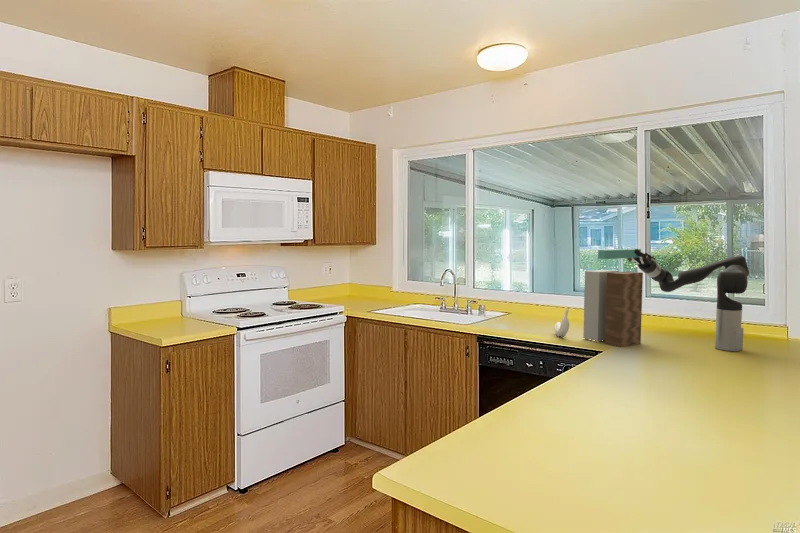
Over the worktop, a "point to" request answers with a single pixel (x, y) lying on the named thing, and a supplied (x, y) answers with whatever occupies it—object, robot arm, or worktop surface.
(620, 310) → the walnut stand
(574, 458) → the worktop surface
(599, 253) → the teal block
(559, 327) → the white tapered lobed shape
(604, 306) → the grey stand
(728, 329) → the robot arm
